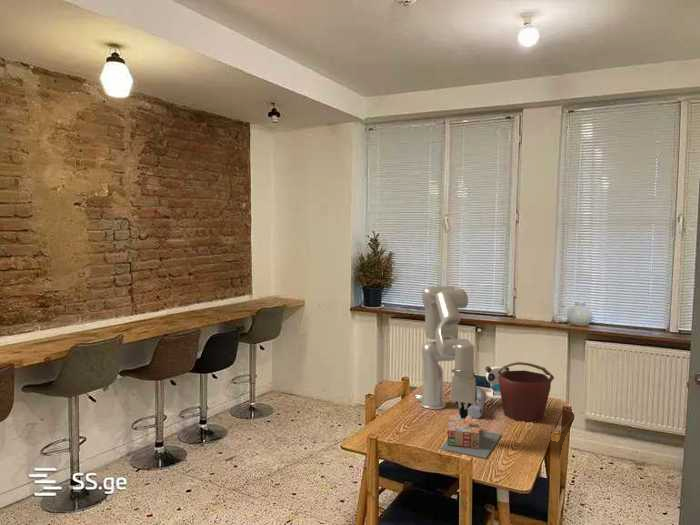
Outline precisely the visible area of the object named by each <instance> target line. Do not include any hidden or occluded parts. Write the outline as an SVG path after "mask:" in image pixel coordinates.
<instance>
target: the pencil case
mask: <svg viewBox="0 0 700 525" xmlns="http://www.w3.org/2000/svg"><path fill="white" fill-rule="evenodd" d="M486 400H487V392H486V391H485V390H484V389H483V388H481V387H477V405H476V406H470V407H469V408H468V414H471V419H479V418H481V417H482V416H483V412H484V407H485V402H486ZM463 406H465V404H463Z"/></svg>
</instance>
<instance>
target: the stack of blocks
mask: <svg viewBox="0 0 700 525" xmlns="http://www.w3.org/2000/svg"><path fill="white" fill-rule="evenodd" d="M479 430H480V422H476V421H472V418H471V414H468V416H467V417H466V418H465V419H463V418H461V415H460V412H459V413H456V412H455V413H454V412H450V413H449V419H448V426H447V440H448V443H447V445H451V446H461V447H469V448H479Z"/></svg>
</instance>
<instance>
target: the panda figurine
mask: <svg viewBox="0 0 700 525" xmlns="http://www.w3.org/2000/svg"><path fill="white" fill-rule="evenodd" d="M502 367H503V366H497V365H496V366H492V367H490V366H487V365H486V366H485V368H484V369H485V371H486V374H485V378H486V381H487V382H488V383H489V384H490V391H487V392H486V397H489V398H493V399H502V398H501V393H500V387H499V374H498V371H499V370H500V369H501V368H502ZM504 371H510V368H509V367H507V368H504V369H502V370H501V371H500V372H501V373H503V372H504Z"/></svg>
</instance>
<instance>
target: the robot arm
mask: <svg viewBox="0 0 700 525" xmlns="http://www.w3.org/2000/svg"><path fill="white" fill-rule="evenodd" d="M421 299H422V305H423V307H424V314H425V316H424V318H425V319H424V324H425V325H424V333H425V337H426V338H427V339H429V340H435V341H428V342H425V343H423V344H422V346H421V357H422V363H423V365H422V366H423V368H422V369H423V370H422V372H423V374H422V375H423V378H422V380H423V382H422V383H423V386H422V387H423V388H422V392H423V393H422V394H415V399H416V400H420V402H419V405H421V406H420V407H421V408H423V407H424V408H423V409H427V408H428V409H427V410H442V409H445V408H446V407H447V404H446V402H445V401H444V400H443V399H444V398H443V394H444V393H443V392H444V389H443V388H444V370H443V368H442V366H441V365H440V364H439V362H452V361H454V368H451V373H453V375H452V378H451V384H450V393H449V395H450V398H449V399H450V402H452V403H454V404H455V405H457V407H458V408H459V414H460V415H461V418H463V419H465V418H466V417H467V416H468V408H469V407H470V406H476V405H477V381H476V376H474V375H475V374H474V373H475V372H474V371H475V368H474V367H475V347H474V344H472V343H471V342H470V340H469V339H467V338H459V326H458V324H459V323H460V321H461V316H460V312H459V309H466V307H467V306H468V304H469V298H468V294H467V292H466V291H465V290H464V289H463V288H460V287H458V286H428V287H424V288H423V290H422V292H421ZM464 405H465V406H464Z"/></svg>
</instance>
